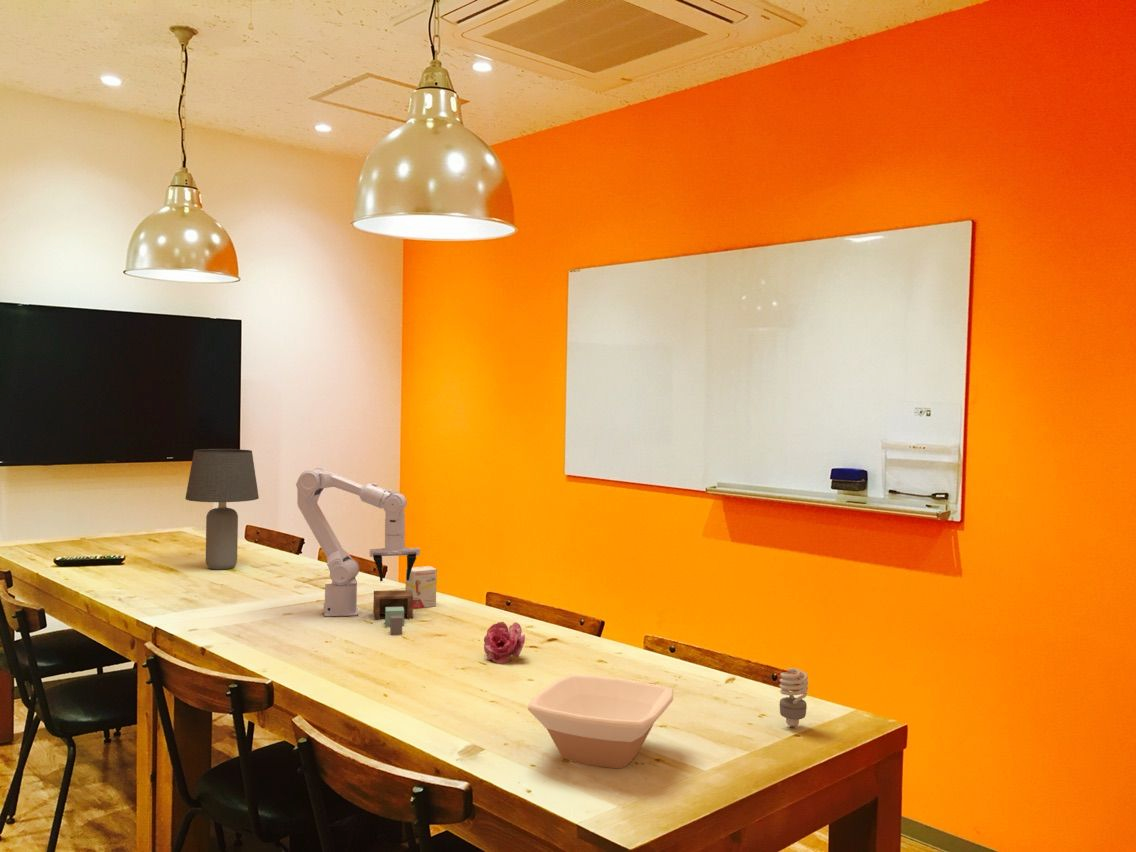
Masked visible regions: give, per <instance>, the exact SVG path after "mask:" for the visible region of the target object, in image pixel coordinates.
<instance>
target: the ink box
mask: <svg viewBox="0 0 1136 852" xmlns="http://www.w3.org/2000/svg"><path fill="white" fill-rule="evenodd" d="M437 571H438V570H437V568H435V567H433V566H430V565H426V566H416V567H415V566H413V567H412V569H411V573H410V577H409V580H407V579H406V578H405V589H404V590H411V591H412V594H413V610H414V609H415V610H417V609H422V608H424V609H425V608H431V607H436V606H437V575H438V574H437ZM406 574H407V568H406V570H405V575H406Z"/></svg>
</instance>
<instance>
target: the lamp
mask: <svg viewBox="0 0 1136 852" xmlns="http://www.w3.org/2000/svg"><path fill="white" fill-rule="evenodd" d="M190 465H191V466H190V472H189V477H188V482H187V487H186V493H185V500H186V501H189V502H198V503H199V502H200V503H218V506H217V507H215V508H212V509H210V510H209V511H208V512H207V514H206V516H205V517H206V520H205V521H206V523H205V524H206V525H205V565H206V566H207V568H209V569H210V570H216V571H218V570H219V571H222V570H223V571H225V570H230V569H233V568H235V566H236V565H237V563H238V541H239V540H238V538H239V536H238V534H239V533H238V531H239V528H238V527H239V515H238V512H237V511H236V510H235V509H233V508H230V507H228V506H227V503H236V502H237V503H239V502H249V501H255V500H256V501H257V500H259V499H260V498H259V497H260V496H259V490H258V482H257V477H256V476H257V475H256V470H255V463H254V456H253V451H252V450H250V449H240V448H239V449H237V448H234V449H233V448H208V449H205V448H204V449H203V448H202V449H195V450H194V451H193V456H192V461H191V464H190Z"/></svg>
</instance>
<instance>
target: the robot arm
mask: <svg viewBox="0 0 1136 852" xmlns="http://www.w3.org/2000/svg"><path fill="white" fill-rule="evenodd" d="M295 486H296V489H297V491H296V492H297V500H296V502H297V507H298V509H299V511H300V512H301V514H302V516H303V518H304V520H305V521H306V524H307V525H308V526H309V529H310V530H311V532H312V534H313V536H314V537H315V539H316V541H317V543H318V544H319V546H320V548H321V550H322V551H323V553H324V555H325V557H326V565H327V567H328V571H329V576H330V579H331V583H325V584H324V602H323V610H324V615H323V616H324V617H348V616H351V617H352V616H358V615H359V609H358V608H357V607H358V606H357V602H358V599H357V597H358V596H357V595H358V580H357V578H356V577H357V576H358V575H359V574H360V572H359V571H360V565H359V563H358V562H357V561H356V560H355V559H354V558H352V557H351V556H350V554H349V552H348V551H346V550H345V549H344V547H342V545H341V543H340V542H339V539H338V537H337V536H336V534H335V533H334V531H333V529H332V527H331V526H330V524H329V521H328V520H327V519H326V516H325V514H324V513H323V511H322V510H321V508H320V506H319V503H318V501H319V498H320V496H321V493H323V491H324V489H329V488H336V489H340V490H342V491H345V492H348V493H350V494H352V495H353V494H354V495H357V496H359V499H360V500H361V502H363V503H366V504H369V505H371V506H373V507H375V508H378V509H380V510H381V509H383V510H384V512H385V519H384V548H371V549H369V557H370V558H372V557H373V558H372V559H373V562H374V563H375V566H376V568H377V571H378V575H379V581H380V582H384V581H383V580H384V578H383V557H392V556H394V557H395V556H396V557H397V556H399V557H401V556H403V557H404V556H406V569H407V574H406V573H405V580H406V579H407V580H409V577H410V573H411V569H412V568H413V567H414V564H415V563H416V560H417V556H421V553H420V552H421V549H420V547H405V545H406V544H405V543H406V542H405V541H406V539H405V536H406V535H405V532H406V526H405V525H406V518H405V509H406V507H407V498H406V497H405V495H404V494H403V493H401V492H399V491H396V492H393V489H386V488H383V487H380V486H378V483H376V482H373V483H370V482H368V483H366V484H365V485H364V484H361V483H359V482H356V481H354V480H352V479H350V478H347V477H345V476H342V475H340V474H339V473H338V474H337V473H336V472H333V471H330V470H325V469H322V468H318V467H317V468H314V469H311V470H304V471H303V472H301V474H299V476H298V479H297V481H296V483H295Z"/></svg>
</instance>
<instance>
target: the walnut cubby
mask: <svg viewBox="0 0 1136 852" xmlns="http://www.w3.org/2000/svg"><path fill="white" fill-rule="evenodd" d="M385 607H403V608H404V614H405V615H406V618H407V620H408V619H409V620H412V619H413V618H414V617H413V616H414V615H413V614H414V613H413V612H414V609H413V594H412V591H411V590H405V589H401V590H400V589H395V590H394V589H393V590H389V589H388V590H373V610H372V611H373V612H372V615H373V620H374V621H375V620H376V621H377V620H380V615H385Z"/></svg>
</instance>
